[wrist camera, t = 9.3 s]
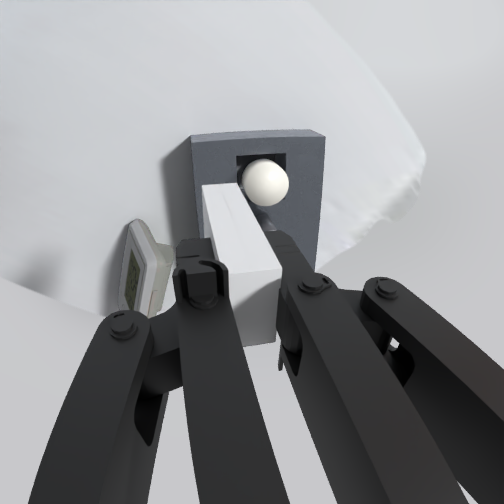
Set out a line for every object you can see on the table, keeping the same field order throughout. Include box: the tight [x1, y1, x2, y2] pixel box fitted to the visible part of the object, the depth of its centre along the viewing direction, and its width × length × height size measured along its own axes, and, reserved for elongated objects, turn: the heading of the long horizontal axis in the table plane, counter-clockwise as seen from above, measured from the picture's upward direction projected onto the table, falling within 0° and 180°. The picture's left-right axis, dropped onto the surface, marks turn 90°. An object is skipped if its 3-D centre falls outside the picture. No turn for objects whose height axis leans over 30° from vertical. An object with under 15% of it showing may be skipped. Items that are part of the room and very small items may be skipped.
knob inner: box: [242, 159, 289, 206], centre depth 38 cm, size 5×5×7 cm
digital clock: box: [118, 219, 173, 318], centre depth 42 cm, size 16×9×11 cm, turn 149°
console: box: [191, 130, 325, 271], centre depth 43 cm, size 16×22×5 cm
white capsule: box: [255, 214, 277, 232], centre depth 38 cm, size 3×3×6 cm
